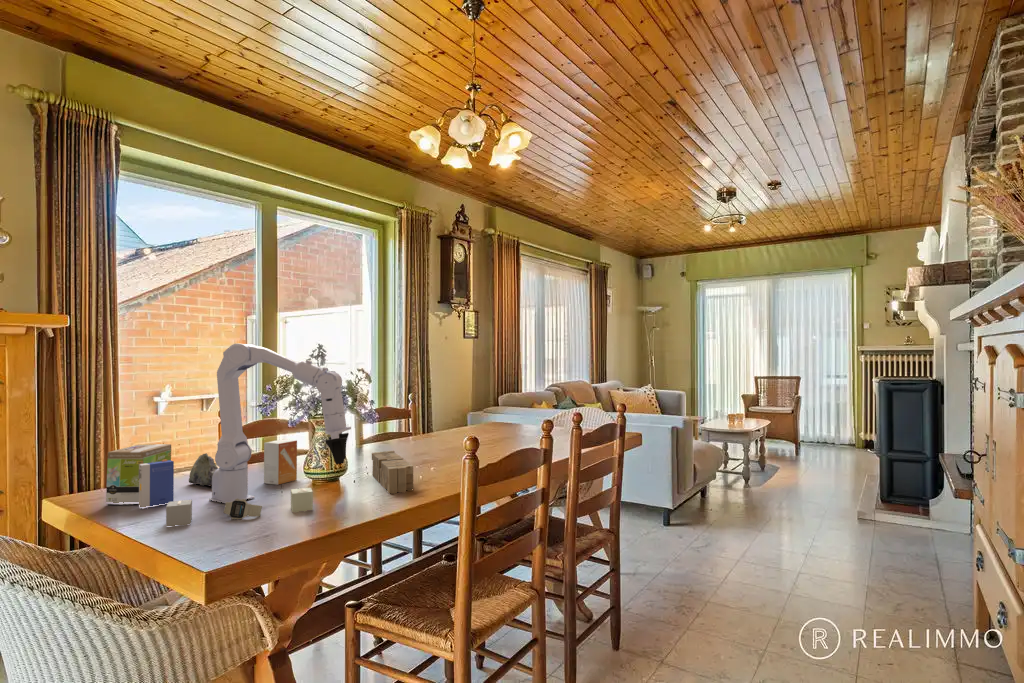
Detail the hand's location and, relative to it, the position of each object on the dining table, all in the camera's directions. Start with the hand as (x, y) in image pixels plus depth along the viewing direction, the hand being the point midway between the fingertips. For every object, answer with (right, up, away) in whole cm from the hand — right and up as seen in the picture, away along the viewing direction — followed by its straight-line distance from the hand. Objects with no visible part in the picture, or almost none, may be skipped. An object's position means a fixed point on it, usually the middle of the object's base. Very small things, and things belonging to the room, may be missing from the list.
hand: (340, 461), depth 162 cm
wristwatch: (-20, -11, -17) cm, 28 cm away
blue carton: (-48, -11, -7) cm, 50 cm away
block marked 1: (-32, -10, -23) cm, 41 cm away
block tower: (+10, -11, +19) cm, 25 cm away
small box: (-26, -11, +22) cm, 36 cm away
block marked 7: (-7, -10, -11) cm, 17 cm away
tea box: (-58, -11, +1) cm, 59 cm away
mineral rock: (-47, -11, +17) cm, 52 cm away
